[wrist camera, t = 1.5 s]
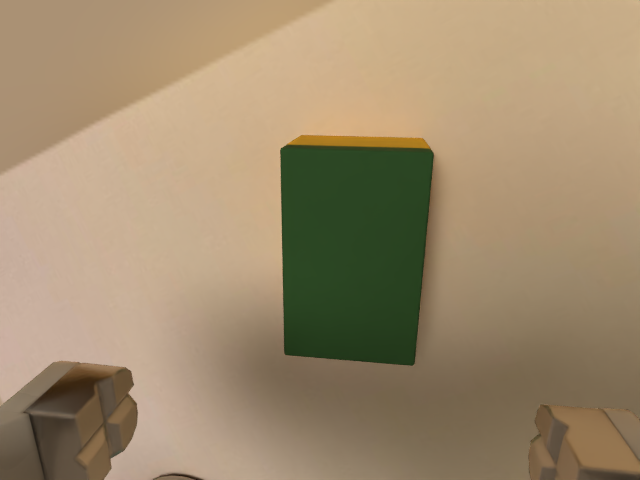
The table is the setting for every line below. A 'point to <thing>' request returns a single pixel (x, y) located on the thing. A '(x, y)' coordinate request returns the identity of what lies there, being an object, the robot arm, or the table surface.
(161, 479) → the cup
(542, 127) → the table surface
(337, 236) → the sponge
